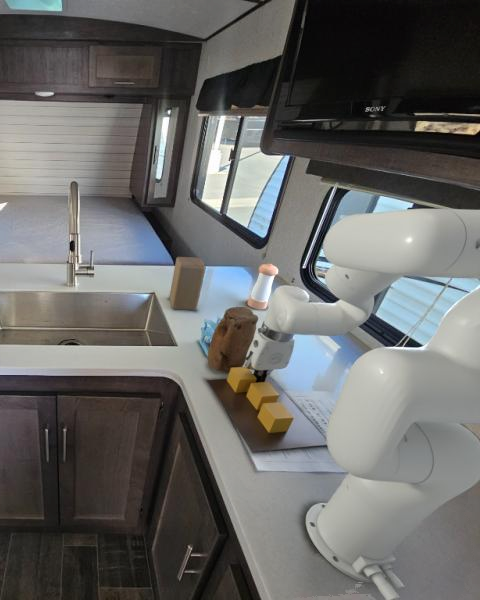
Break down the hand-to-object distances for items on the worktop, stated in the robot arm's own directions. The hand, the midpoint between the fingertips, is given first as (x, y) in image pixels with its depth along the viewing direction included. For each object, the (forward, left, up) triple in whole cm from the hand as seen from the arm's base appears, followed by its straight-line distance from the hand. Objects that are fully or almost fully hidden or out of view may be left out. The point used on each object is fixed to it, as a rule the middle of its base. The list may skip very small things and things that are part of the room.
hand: (257, 382), depth 93 cm
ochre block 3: (-13, +4, -1) cm, 14 cm away
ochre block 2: (-6, +3, -1) cm, 7 cm away
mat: (-8, +3, -2) cm, 9 cm away
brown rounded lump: (+10, +5, -2) cm, 11 cm away
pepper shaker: (+46, -29, -2) cm, 54 cm away
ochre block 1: (0, +5, -1) cm, 5 cm away
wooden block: (+49, +3, -2) cm, 49 cm away
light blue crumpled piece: (+19, +5, -2) cm, 19 cm away
